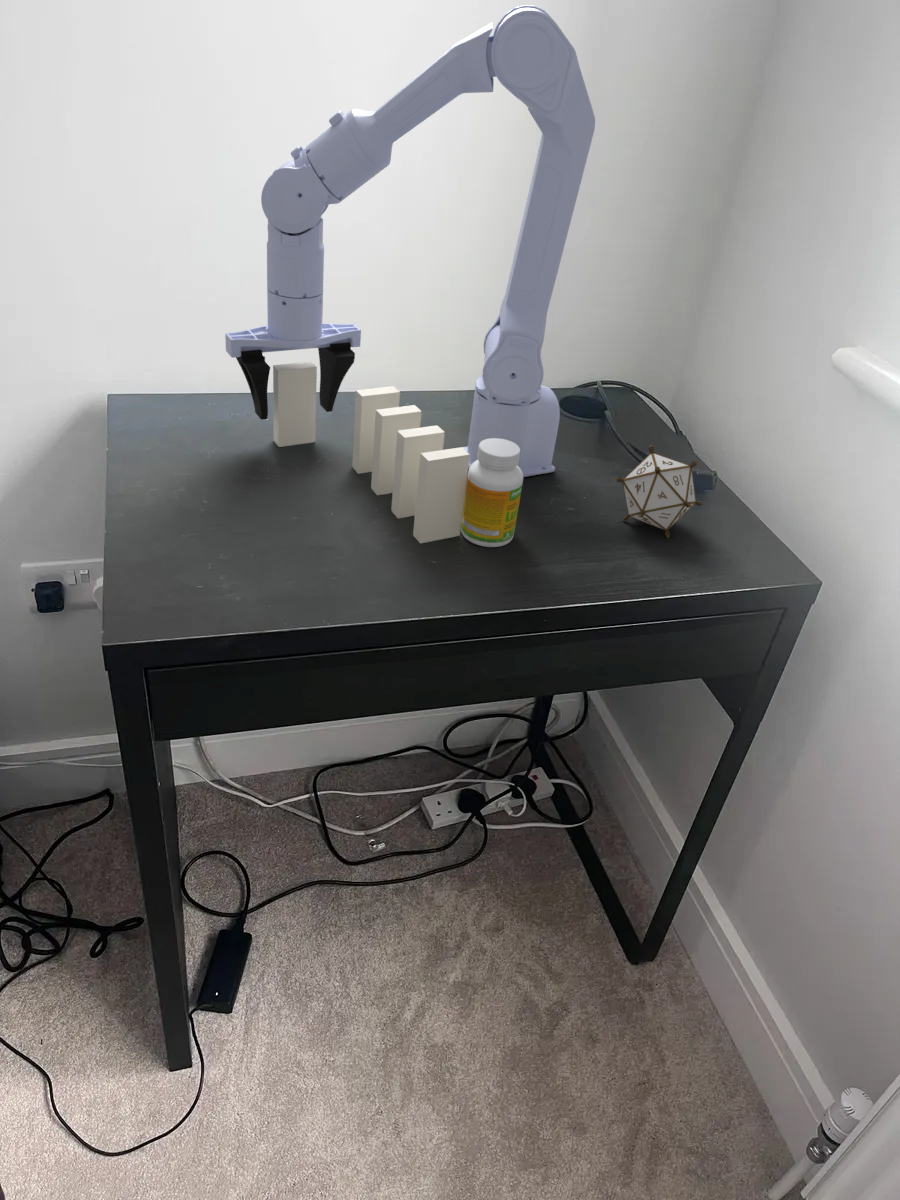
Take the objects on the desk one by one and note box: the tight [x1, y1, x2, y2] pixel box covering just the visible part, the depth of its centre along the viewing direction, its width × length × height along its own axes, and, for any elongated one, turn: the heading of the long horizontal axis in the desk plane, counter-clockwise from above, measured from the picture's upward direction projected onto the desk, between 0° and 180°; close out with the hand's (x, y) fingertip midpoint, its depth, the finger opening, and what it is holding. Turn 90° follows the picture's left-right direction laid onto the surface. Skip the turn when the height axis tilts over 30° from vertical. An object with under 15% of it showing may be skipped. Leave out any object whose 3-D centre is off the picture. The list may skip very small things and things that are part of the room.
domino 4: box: [390, 425, 446, 519], centre depth 92 cm, size 4×2×9 cm, turn 119°
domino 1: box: [272, 361, 318, 448], centre depth 102 cm, size 4×2×9 cm, turn 119°
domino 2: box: [351, 385, 401, 475], centre depth 99 cm, size 4×2×9 cm, turn 119°
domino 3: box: [370, 404, 422, 496], centre depth 95 cm, size 4×2×9 cm, turn 119°
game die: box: [614, 443, 704, 539], centre depth 95 cm, size 9×8×10 cm
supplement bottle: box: [460, 438, 524, 548], centre depth 89 cm, size 5×5×10 cm
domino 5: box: [412, 446, 470, 544], centre depth 88 cm, size 4×2×9 cm, turn 119°
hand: (294, 411), depth 103 cm, fingers open, 7 cm apart
